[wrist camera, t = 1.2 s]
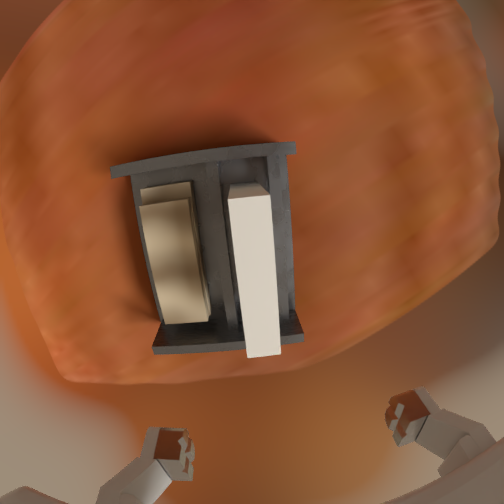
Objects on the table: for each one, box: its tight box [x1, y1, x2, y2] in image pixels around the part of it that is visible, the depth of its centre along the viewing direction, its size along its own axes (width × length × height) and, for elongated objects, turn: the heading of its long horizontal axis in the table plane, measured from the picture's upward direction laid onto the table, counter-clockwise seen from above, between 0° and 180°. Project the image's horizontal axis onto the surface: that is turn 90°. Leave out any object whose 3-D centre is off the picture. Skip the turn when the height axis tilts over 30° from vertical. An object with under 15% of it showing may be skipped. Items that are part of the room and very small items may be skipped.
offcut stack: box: [139, 180, 212, 324], centre depth 31 cm, size 16×6×4 cm, turn 5°
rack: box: [110, 142, 304, 355], centre depth 31 cm, size 22×18×7 cm
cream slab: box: [228, 182, 281, 358], centre depth 28 cm, size 14×3×12 cm, turn 6°
